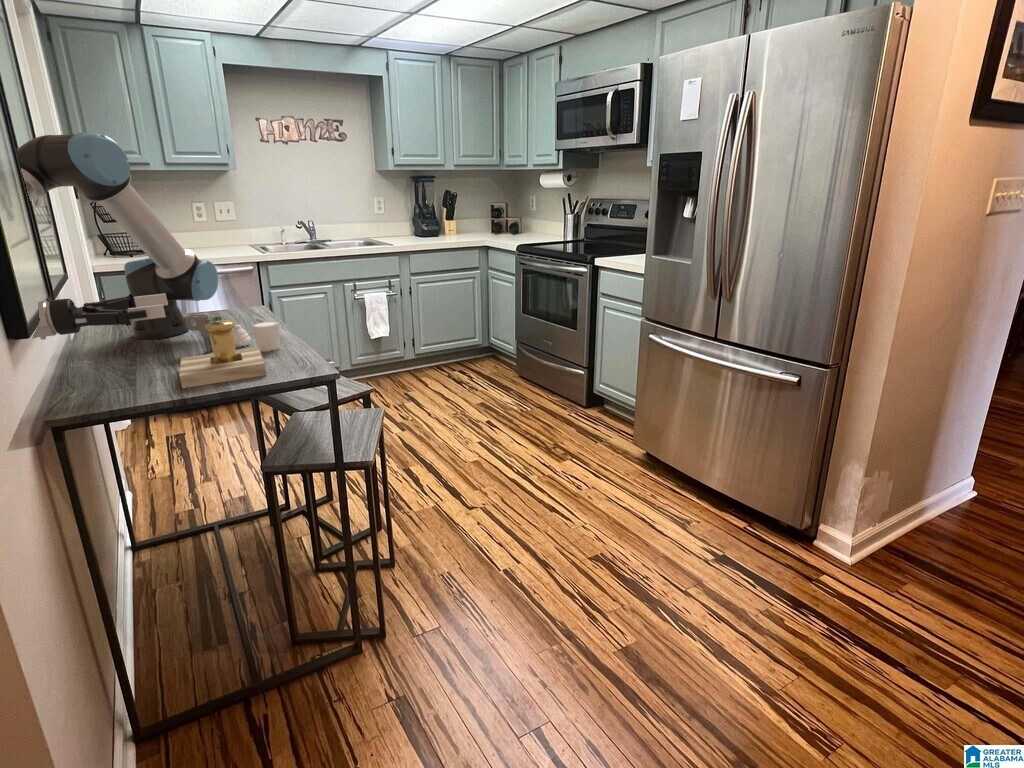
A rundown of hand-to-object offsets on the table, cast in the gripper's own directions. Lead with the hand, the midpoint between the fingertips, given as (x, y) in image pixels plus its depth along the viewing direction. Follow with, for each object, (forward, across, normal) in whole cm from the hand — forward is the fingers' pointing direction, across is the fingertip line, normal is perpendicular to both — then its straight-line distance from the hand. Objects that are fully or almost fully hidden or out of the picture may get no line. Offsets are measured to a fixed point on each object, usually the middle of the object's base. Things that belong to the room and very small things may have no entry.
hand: (165, 304), depth 136 cm
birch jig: (+9, +1, -18) cm, 20 cm away
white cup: (+21, -16, -19) cm, 32 cm away
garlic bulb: (+14, -25, -19) cm, 34 cm away
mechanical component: (+6, -22, -18) cm, 29 cm away
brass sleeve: (+10, 0, -18) cm, 20 cm away
